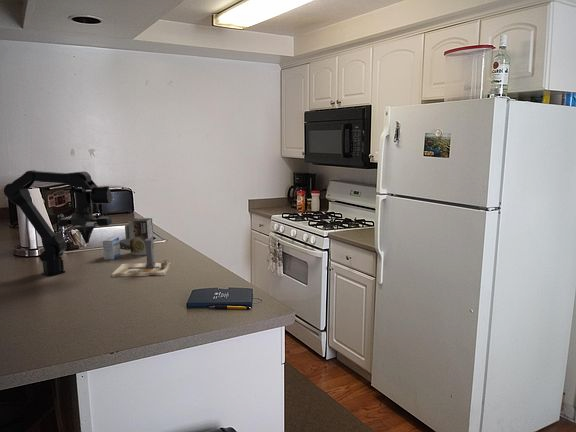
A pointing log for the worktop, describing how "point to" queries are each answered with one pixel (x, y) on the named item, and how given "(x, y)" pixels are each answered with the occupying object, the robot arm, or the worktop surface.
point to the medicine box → (111, 248)
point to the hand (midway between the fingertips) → (87, 243)
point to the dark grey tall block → (149, 253)
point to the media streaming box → (125, 243)
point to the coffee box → (140, 234)
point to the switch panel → (141, 269)
